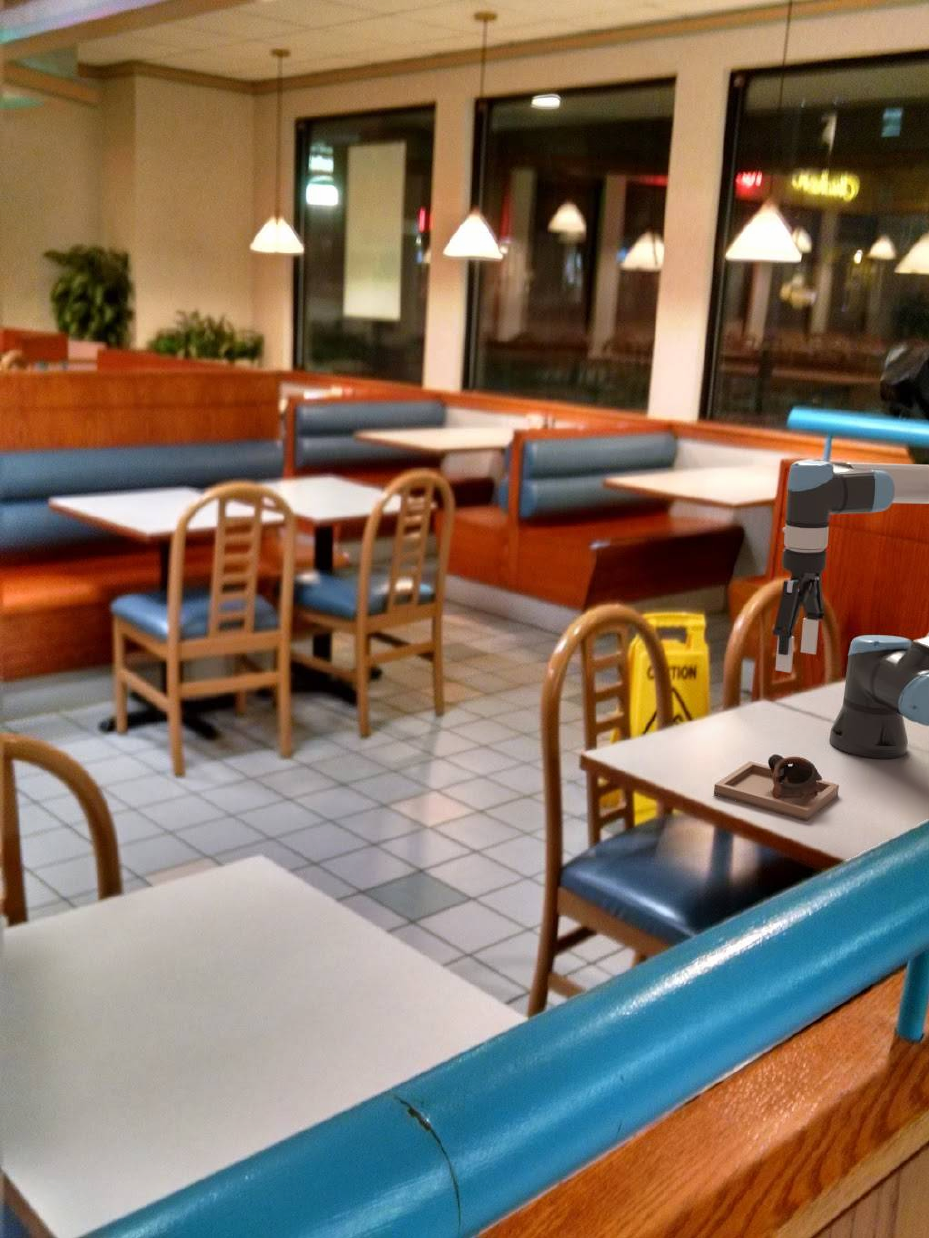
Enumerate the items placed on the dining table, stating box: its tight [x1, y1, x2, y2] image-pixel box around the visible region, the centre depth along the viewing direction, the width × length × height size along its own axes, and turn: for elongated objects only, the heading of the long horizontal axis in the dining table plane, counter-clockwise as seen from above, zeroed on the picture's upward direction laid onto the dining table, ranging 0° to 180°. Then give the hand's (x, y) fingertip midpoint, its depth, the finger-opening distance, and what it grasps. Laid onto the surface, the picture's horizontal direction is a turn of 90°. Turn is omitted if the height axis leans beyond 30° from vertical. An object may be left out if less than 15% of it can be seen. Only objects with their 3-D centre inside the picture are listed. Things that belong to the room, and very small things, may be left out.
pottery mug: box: [767, 754, 823, 799], centre depth 219 cm, size 12×10×8 cm
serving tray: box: [713, 760, 840, 822], centre depth 220 cm, size 15×17×2 cm
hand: (796, 661), depth 222 cm, fingers open, 13 cm apart
